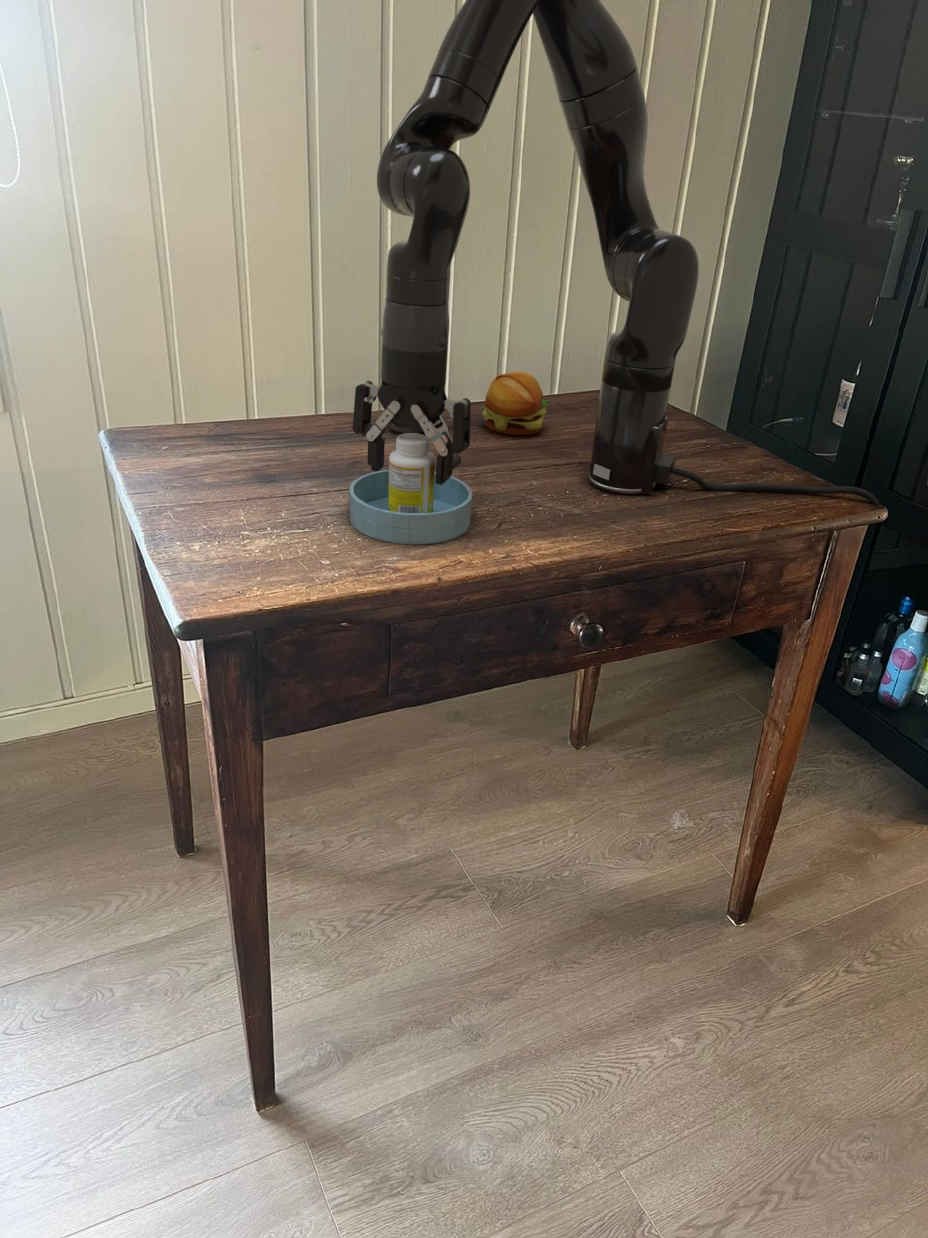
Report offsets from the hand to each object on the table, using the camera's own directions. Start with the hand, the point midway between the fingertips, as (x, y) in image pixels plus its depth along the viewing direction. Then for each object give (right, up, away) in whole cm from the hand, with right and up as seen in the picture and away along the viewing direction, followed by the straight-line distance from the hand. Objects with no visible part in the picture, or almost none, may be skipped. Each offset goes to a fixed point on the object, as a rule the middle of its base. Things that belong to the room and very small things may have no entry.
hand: (408, 475), depth 115 cm
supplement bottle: (0, -5, +3) cm, 6 cm away
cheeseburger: (+15, +13, +37) cm, 41 cm away
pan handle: (+4, +2, +11) cm, 12 cm away
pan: (0, -5, +3) cm, 6 cm away
